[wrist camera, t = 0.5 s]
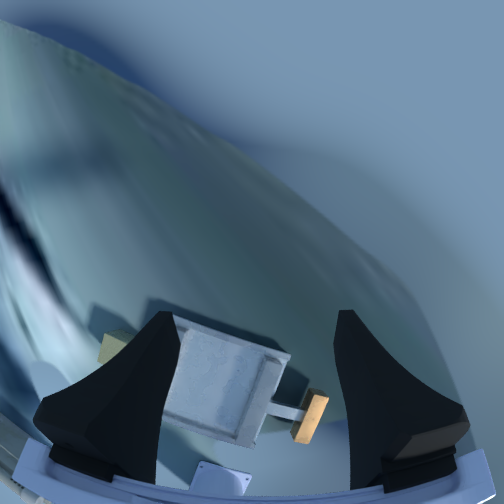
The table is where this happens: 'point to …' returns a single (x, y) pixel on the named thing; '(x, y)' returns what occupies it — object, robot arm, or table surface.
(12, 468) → the geiger counter
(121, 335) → the brass block
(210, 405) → the vise bed
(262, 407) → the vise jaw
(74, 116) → the table surface
